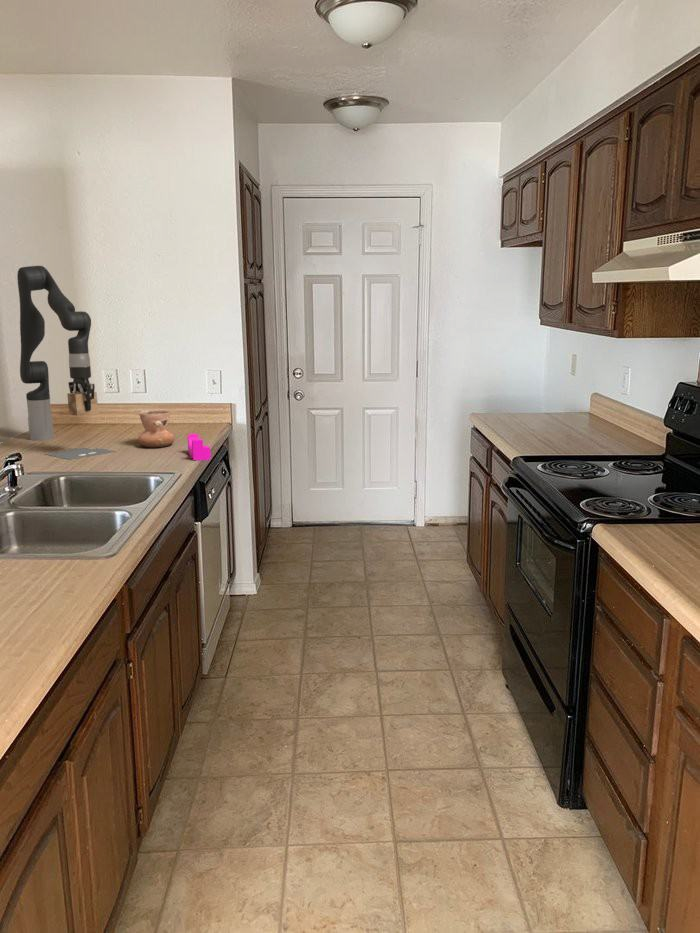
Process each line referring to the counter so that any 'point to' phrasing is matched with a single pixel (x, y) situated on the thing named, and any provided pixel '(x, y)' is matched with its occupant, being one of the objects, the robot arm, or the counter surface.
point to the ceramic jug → (155, 429)
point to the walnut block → (81, 404)
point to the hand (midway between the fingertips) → (83, 409)
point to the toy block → (198, 448)
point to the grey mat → (79, 453)
